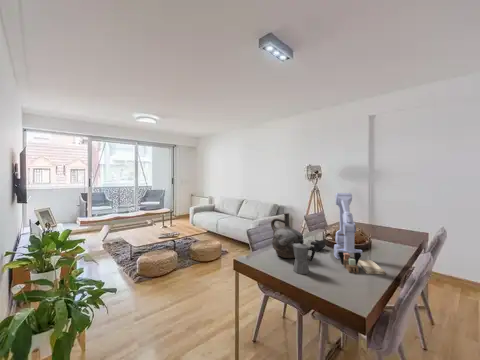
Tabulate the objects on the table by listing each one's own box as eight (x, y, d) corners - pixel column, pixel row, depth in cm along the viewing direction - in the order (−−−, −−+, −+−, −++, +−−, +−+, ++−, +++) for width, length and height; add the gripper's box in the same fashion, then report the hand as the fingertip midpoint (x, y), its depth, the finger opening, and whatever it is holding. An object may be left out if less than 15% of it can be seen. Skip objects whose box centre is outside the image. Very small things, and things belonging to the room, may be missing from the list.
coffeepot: (286, 269, 135) (287, 239, 135) (295, 265, 142) (296, 236, 141) (310, 278, 124) (310, 245, 124) (319, 273, 131) (319, 242, 130)
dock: (366, 273, 130) (366, 270, 130) (355, 261, 148) (355, 259, 148) (385, 274, 129) (385, 271, 129) (371, 262, 147) (371, 259, 147)
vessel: (263, 257, 155) (263, 214, 155) (274, 248, 175) (274, 209, 174) (299, 264, 144) (299, 217, 143) (306, 253, 163) (307, 212, 162)
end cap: (319, 252, 165) (319, 243, 165) (310, 250, 171) (310, 241, 171) (325, 249, 172) (325, 240, 172) (316, 247, 177) (316, 238, 177)
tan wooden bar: (358, 273, 131) (358, 266, 131) (349, 273, 132) (349, 266, 132) (348, 262, 147) (348, 256, 147) (340, 262, 147) (340, 256, 147)
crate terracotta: (344, 259, 143) (344, 254, 142) (343, 257, 146) (343, 252, 145) (349, 259, 142) (349, 254, 142) (348, 257, 145) (348, 252, 145)
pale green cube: (350, 265, 133) (350, 260, 133) (348, 263, 136) (348, 258, 136) (355, 265, 133) (355, 260, 133) (353, 263, 136) (353, 258, 136)
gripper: (338, 244, 136) (338, 266, 136) (364, 245, 134) (364, 268, 134) (335, 240, 143) (335, 262, 143) (359, 241, 141) (359, 263, 141)
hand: (349, 264), depth 139 cm, fingers open, 7 cm apart
